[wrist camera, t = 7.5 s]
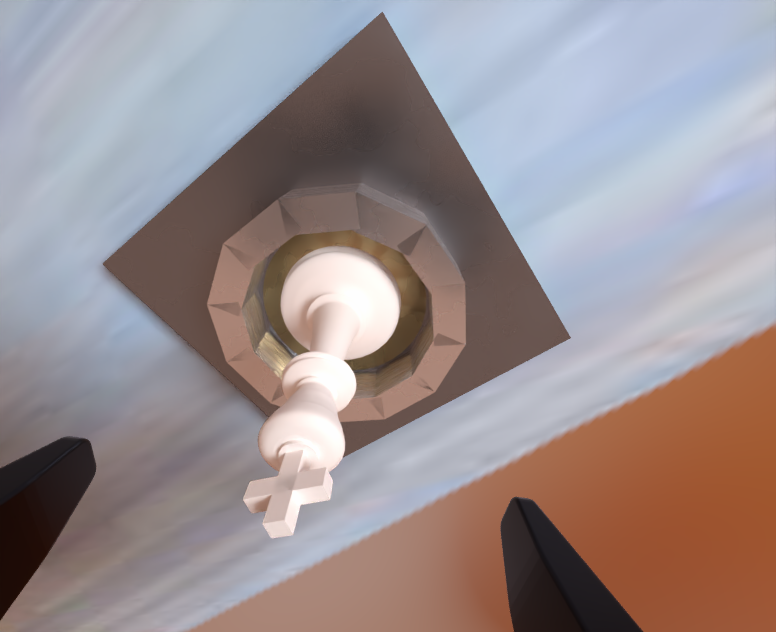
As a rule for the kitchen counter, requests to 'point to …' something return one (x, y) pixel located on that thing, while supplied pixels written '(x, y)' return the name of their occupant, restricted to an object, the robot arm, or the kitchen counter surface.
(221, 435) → the kitchen counter surface
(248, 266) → the hub plate
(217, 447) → the kitchen counter surface
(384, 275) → the chess piece
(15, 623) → the kitchen counter surface
